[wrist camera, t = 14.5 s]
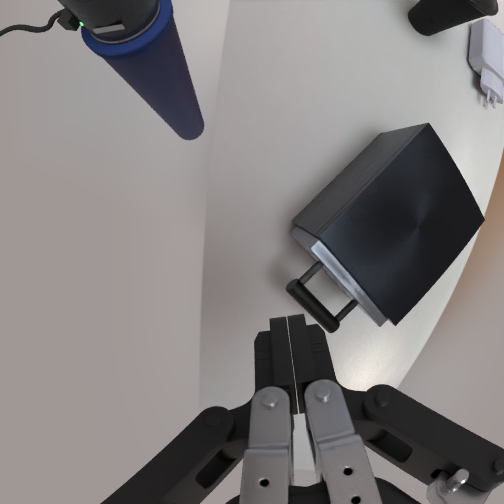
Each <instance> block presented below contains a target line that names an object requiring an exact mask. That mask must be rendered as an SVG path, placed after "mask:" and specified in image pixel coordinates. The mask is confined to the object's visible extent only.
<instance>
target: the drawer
mask: <svg viewBox="0 0 504 504" xmlns="http://www.w3.org/2000/svg"><path fill="white" fill-rule="evenodd" d="M290 234H291V235H292V236H293V237H294V238H295V239H296V240H297V241H298V243H299V244H300V245H301V246H302V247H303V248H304V249H305V250H306V251H307V252H308V253H309V254H310V255H311V256H312V257H313V259H314V260H315V261H316V263H315V264H314V265H313V266H312V267H311V268H310V269H309V270H308V271H307V272H306V273H305V274H304V275H303V276H301V277H300V278H299V280H298V279H294V280H292V281H291V282H290V283H289V284H288V285H287V287H286V291H287V292H288V293H289V294H290V295H291V296H292V297H293V298H294V299H295V300H296V301H297V302H298V303H299V304H300V305H301V306H302V307H303V308H304V309H305V310H306V311H307V312H308V313H309V314H310V315H311V316H312V317H313V318H314V319H315V320H316V321H317V322H318V323H319V324H320V325H321V326H322V327H323V328H324V329H326V330H327V331H328V332H329V333H333V332H335V331H336V330H337V329H338V328H339V326H340V321H341V320H342V319H343V318H344V317H345V316H346V315H347V314H348V313H349V312H351V311H352V310H353V309H354V308H355V307H356V306H358V307H359V308H360V309H362V310H363V311H364V312H365V313H366V314H367V315H368V316H369V317H370V318H371V319H372V320H373V321H374V322H375V323H376V324H377V325H378V326H379V327H381V326H382V325H383V324H384V323H385V322H386V321H387V320H388V318H387V317H386V316H385V315H384V313H383V312H382V311H381V310H380V309H379V307H378V306H377V305H376V304H375V303H374V301H373V300H372V299H371V298H370V297H369V295H368V294H367V293H366V292H365V291H364V290H363V288H362V287H361V286H360V285H359V284H358V283H357V281H356V280H355V279H354V278H353V277H352V276H351V274H350V273H349V272H348V271H347V270H346V269H345V268H344V266H343V265H342V264H341V263H340V262H339V261H338V260H337V258H336V257H335V256H334V255H333V254H332V253H331V252H330V250H329V249H328V248H327V247H326V246H325V245H324V244H323V243H322V242H321V240H319V239H318V238H316V237H315V236H313V235H311V234H310V233H308V232H306V231H305V230H303V229H302V228H300V227H298V226H296V227H295V228H294V229H293V230H292V231H291V232H290ZM321 268H323V269H324V270H325V272H326V273H327V274H328V275H329V276H330V277H331V278H332V279H333V280H334V281H335V282H336V284H337V285H338V286H339V287H340V288H341V289H342V290H343V291H344V292H345V293H346V295H347V296H348V297H349V298H350V299H351V301H350V302H349V303H348V304H347V305H346V306H345V307H344V308H343V309H342V310H341V311H340V312H339V313H338V314H337V315H336V316H335V317H334V316H333V315H332V314H331V313H330V312H329V311H328V310H327V309H326V308H325V307H324V306H323V305H322V304H321V302H320V301H319V300H318V299H317V298H316V297H315V296H314V295H313V294H312V293H311V292H310V291H309V290H308V289H307V288H306V287H305V286H304V284H305V283H306V282H307V281H308V280H309V279H310V278H311V277H312V276H313V275H314V274H315V273H316V272H317V271H318V270H319V269H321Z"/></svg>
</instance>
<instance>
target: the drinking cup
mask: <svg viewBox="0 0 504 504" xmlns="http://www.w3.org/2000/svg"><path fill="white" fill-rule="evenodd" d="M497 12H498V3H497V0H420V1H419V2H418V3H417V4H416V5H415V6H414V7H413V8H412V9H411V10H410V11H409V14H408V17H409V21H410V23H411V24H412V26H413V27H414V28H415V29H416V30H417V31H418V32H419V33H421V34H423V35H426V36H430V35H433V34H436V33H438V32H441V31H443V30H446V29H449V28H451V27H454V26H457V25H460V24H463V23H465V22H468V21H471V20H474V19H477V18H480V17H484V16H487V15H488V16H494V15H496V14H497Z"/></svg>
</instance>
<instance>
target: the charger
mask: <svg viewBox="0 0 504 504" xmlns="http://www.w3.org/2000/svg"><path fill="white" fill-rule="evenodd" d="M469 63H470V64H471V66H472V68H473V69H474V70H475V71H476V72H477V73H478V74H479V75H480V76H481V83H480V86H481V88H482V90H483V92H485V93H486V94H487V99H486V101H487V102H489V98H491V99H493V100H494V102H493V108H496V102H498V103H501V104H503V96H504V34H503V33H502V32H501V31H500V30H499V29H498V28H497V27H496V26H495V25H494V24H493V23H491V22H490V21H489V20H487V19H481V20H479V21H477V22H475V23H473V24H471V39H470V50H469Z"/></svg>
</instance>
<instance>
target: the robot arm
mask: <svg viewBox="0 0 504 504" xmlns="http://www.w3.org/2000/svg"><path fill="white" fill-rule="evenodd" d="M58 1H59V2H60V3H61V4H62V5H63V6H64V7H65V9H62V10H60V11H58V12H57V13H55V14H54V15H53V16H52V17H51V18H50V19H49V21H48V24H47V25H46V26H43V27H33V26H29V25H13V26H10V27H7V28H5V29H3V30H2V31H0V36H2V35H3V34H5V33H7V32H10V31H13V30H25V31H29V32H35V33H39V32H45V31H47V30H49V29H50V28H51V27H52V26H53V24H54V21H55V20H56V19H57V18H59V19H58V20H57V22H58V23H59V24H60V25H61V26H62V27H63V28H65V29H66V30H73V31H77V29H78V28H79V26H80V24H81V25H82V26H83V27H84V29H86V30H88V31H89V32H90V34H91V35H92V36H93V37H94V38H95V39H96V40H97V41H98V42H100V43H103V44H106V45H120V44H124V43H128V42H130V41H133V40H135V39H137V38H139V37H140V36H142V35H143V34H145V33H146V32H147V31H148V30H149V29H150V28H151V27H152V26H153V25H154V24H155V22H156V21H157V19H158V17H159V15H160V11H161V2H160V0H58ZM287 317H288V326H289V335H290V342H289V335H288V327H287V320H286V317H278V318H271V319H270V331H263V332H259V333H258V335H257V337H256V339H255V341H254V351H255V393H254V395H253V397H252V398H251V400H250V401H249V402H247V403H246V404H244V405H242V406H240V407H237V408H235V409H232V410H228V409H226V408H224V407H219V406H214V407H210V408H207V409H205V410H204V411H202V412H201V413H200V414H199V415H198V416H197V417H196V418H195V419H194V420H193V421H192V422H191V423H190V424H189V425H188V426H187V427H186V428H185V429H184V430H183V431H182V432H181V433H180V434H179V435H178V436H177V437H176V438H174V439H173V440H172V441H171V442H170V443H169V444H168V445H167V446H166V447H165V448H164V449H163V450H162V451H161V452H159V453H158V454H157V456H155V457H154V458H153V459H152V460H151V461H150V462H149V463H147V464H146V465H145V466H144V467H143V468H142V469H141V470H140V471H138V472H137V473H136V474H135V475H134V476H133V477H132V478H130V479H129V480H128V481H127V482H126V483H125V484H123V485H122V486H121V487H120V488H119V489H118V490H116V491H115V492H114V493H113V494H112V495H110V496H109V497H108V498H107V499H106V500H104V501H103V502H102V503H101V504H200V503H201V502H202V501H203V500H204V499H205V498H206V497H207V496H208V495H209V494H210V493H211V492H212V491H213V490H214V489H215V488H216V486H218V485H219V483H221V481H222V480H223V479H224V478H225V477H226V476H227V475H228V474H229V473H230V472H231V471H232V470H233V469H234V467H235V466H236V465H237V464H238V463H239V462H240V461H241V460H242V459H243V468H242V479H241V489H240V495H238V496H236V497H234V498H232V499H231V500H229V501H228V502H227V503H226V504H421V503H419V502H418V501H416V500H415V499H413V498H411V497H410V496H409V495H407V494H406V493H404V492H403V491H402V490H400V489H399V488H397V487H396V486H394V485H393V484H391V483H390V482H388V481H386V480H383V479H381V478H376V477H374V475H373V472H372V468H371V466H370V462H369V459H368V456H367V453H366V450H365V446H367V447H368V448H370V449H371V450H373V451H374V452H376V453H377V454H379V455H380V456H382V457H383V458H385V459H386V460H388V461H389V462H391V463H392V464H394V465H396V466H397V467H399V468H400V469H402V470H403V471H405V472H406V473H408V474H410V475H411V476H413V477H414V478H416V479H418V480H420V481H421V482H423V483H425V484H426V485H428V488H427V493H426V495H427V499H428V501H429V502H430V503H431V504H484V503H485V501H486V500H487V498H488V496H489V495H490V493H491V491H492V490H493V489H494V488H496V487H497V486H499V485H500V484H502V483H503V482H504V449H503V448H501V447H499V446H497V445H495V444H493V443H491V442H489V441H488V440H486V439H484V438H482V437H480V436H478V435H476V434H474V433H473V432H471V431H469V430H467V429H465V428H463V427H462V426H460V425H458V424H456V423H454V422H452V421H451V420H449V419H447V418H445V417H444V416H442V415H440V414H438V413H437V412H435V411H433V410H431V409H430V408H428V407H426V406H424V405H423V404H421V403H419V402H417V401H416V400H414V399H412V398H410V397H408V396H407V395H405V394H403V393H402V392H400V391H398V390H397V389H395V388H393V387H392V386H389V385H385V384H380V385H375V386H373V387H371V388H370V389H368V390H367V392H365V391H354V390H349V389H346V388H344V387H343V386H342V385H340V384H339V382H338V381H337V379H336V376H335V372H334V368H333V364H332V360H331V356H330V352H329V348H328V344H327V340H326V336H325V332H324V331H323V329H322V328H321V327H320V326H319V325H318V324H313V325H306V321H305V316H304V314H299V315H292V316H287ZM290 344H291V349H290ZM291 352H292V357H291ZM292 359H293V364H292ZM293 367H294V372H293ZM294 374H295V380H294ZM295 382H296V389H295ZM296 390H297V397H298V405H299V413H300V414H302V413H305V420H306V431H307V435H308V440H309V444H310V449H311V453H312V458H313V462H314V467H315V474H316V479H317V483H316V484H314V485H311V486H308V487H302V486H294V435H293V431H294V417H293V415H295V414H298V410H297V399H296ZM364 445H365V446H364Z"/></svg>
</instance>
